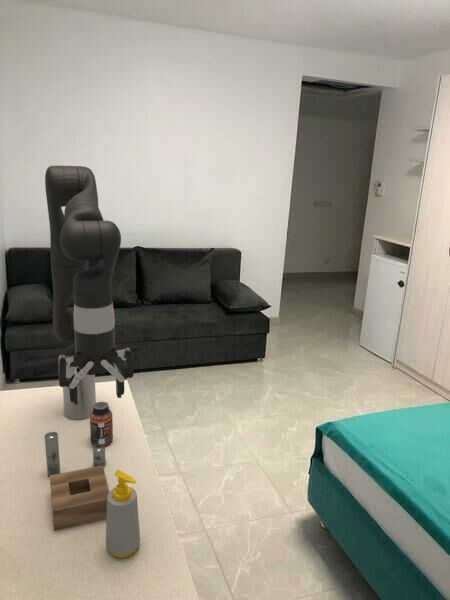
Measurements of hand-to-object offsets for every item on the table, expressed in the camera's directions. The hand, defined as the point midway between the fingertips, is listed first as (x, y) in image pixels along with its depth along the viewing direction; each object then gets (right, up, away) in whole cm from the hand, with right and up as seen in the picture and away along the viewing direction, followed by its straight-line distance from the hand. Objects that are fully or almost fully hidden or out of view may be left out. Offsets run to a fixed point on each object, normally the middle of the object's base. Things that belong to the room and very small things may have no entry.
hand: (97, 399), depth 98 cm
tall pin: (-16, -23, +22) cm, 36 cm away
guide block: (-7, -27, +12) cm, 30 cm away
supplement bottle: (-8, -19, +35) cm, 41 cm away
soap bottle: (+5, -31, +2) cm, 31 cm away
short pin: (-6, -22, +26) cm, 34 cm away
